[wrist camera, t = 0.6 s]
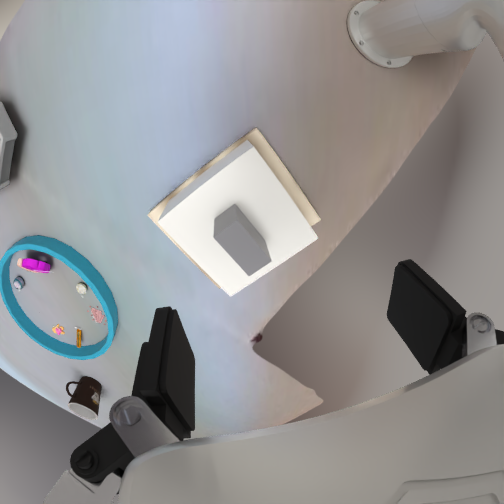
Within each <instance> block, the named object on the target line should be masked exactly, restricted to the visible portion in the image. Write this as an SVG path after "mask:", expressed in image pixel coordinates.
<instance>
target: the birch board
mask: <svg viewBox="0 0 504 504" xmlns="http://www.w3.org/2000/svg"><path fill="white" fill-rule="evenodd" d="M246 140H248V141H249V142H250V143H251V144H252V145H253V146H254V148H255V149H256V150H257V152H258V153H259V154H260V156H261V157H262V158H263V160H264V161H265V162H266V164H267V165H268V167H269V168H270V169H271V171H272V172H273V173H274V175H275V176H276V178H277V179H278V180H279V182H280V183H281V184H282V186H283V187H284V189H285V190H286V192H287V193H288V194H289V196H290V197H291V199H292V200H293V201H294V203H295V204H296V206H297V207H298V209H299V210H300V212H301V213H302V215H303V216H304V217H305V219H306V220H307V222H308V223H309V225H310V226H313V225H314V224H316V223H317V222H319V221H320V218H319V216H318V215H317V213H316V212H315V210H314V209H313V207H312V206H311V204H310V203H309V201H308V200H307V198H306V197H305V195H304V194H303V192H302V191H301V189H300V188H299V186H298V185H297V183H296V182H295V180H294V179H293V177H292V176H291V174H290V173H289V172H288V170H287V169H286V167H285V166H284V164H283V163H282V162H281V160H280V159H279V157H278V156H277V155H276V153H275V152H274V150H273V149H272V148H271V146H270V145H269V144H268V142H267V141H266V140H265V138H264V137H263V135H262V134H261V133H260V131H259V130H258V129H257V128H254V129H253V130H251V131H250V132H248V133H247V134H246V135H244V136H243V137H241V138H240V139H239V140H237V141H236V142H234V143H233V144H232V145H230V146H229V147H228V148H226V149H225V150H224V151H222V152H221V153H220V154H218V155H217V156H216V157H214V158H213V159H212V160H211V161H209V162H208V163H207V164H205V165H204V166H203V167H202V168H200V169H199V170H198V171H197V172H195V173H194V174H193V175H192V176H190V177H189V178H188V179H187V180H185V181H184V182H183V183H182V184H181V185H179V186H178V187H177V188H176V189H175V190H173V191H172V192H171V193H170V194H169V195H168V196H166V197H165V198H164V199H163V200H162V201H161V202H160V203H158V204H157V205H156V206H155V207H154V208H153V209H152V210H151V211H150V212H149V214H148V216H149V217H150V218H151V219H152V220H153V222H154V223H155V224H156V225H157V226H158V227H159V228H160V229H161V230H162V231H163V232H164V233H165V234H166V235H167V236H168V237H169V238H170V239H171V241H172V242H173V243H174V244H175V245H176V246H177V247H178V248H179V249H180V250H181V251H182V252H183V253H184V254H185V255H186V256H187V257H188V258H189V259H190V260H191V261H192V262H193V263H194V264H195V265H196V266H197V267H198V268H199V269H200V270H201V271H202V272H203V273H204V274H205V275H206V276H207V277H208V278H209V279H210V280H211V281H212V282H213V283H214V284H215V285H216V286H217V287H218V288H219V289H220V288H221V287H220V286H219V285H218V284H217V283H216V282H215V281H214V280H213V279H212V278H211V277H210V276H209V275H208V274H207V273H206V272H205V271H204V270H203V269H202V268H201V267H200V266H199V265H198V264H197V263H196V262H195V261H194V260H193V259H192V258H191V257H190V256H189V255H188V254H187V253H186V252H185V251H184V250H183V249H182V248H181V247H180V245H179V244H178V243H177V242H176V241H175V240H174V239H173V238H172V237H171V236H170V235H169V234H168V233H167V232H166V231H165V230H164V229H163V228H162V227H161V226H160V224H159V223H158V220H159V218H160V216H161V214H162V212H163V211H164V209H165V207H166V205H167V203H168V201H169V200H170V199H172V198H173V197H174V196H175V195H176V194H178V193H179V192H180V191H181V190H182V189H184V188H185V187H186V186H187V185H188V184H190V183H191V182H192V181H193V180H195V179H196V178H197V177H198V176H200V175H201V174H202V173H203V172H205V171H206V170H207V169H209V168H210V167H211V166H212V165H214V164H215V163H216V162H218V161H219V160H220V159H222V158H223V157H224V156H226V155H227V154H228V153H230V152H231V151H232V150H234V149H235V148H236V147H238V146H239V145H240V144H242V143H243V142H245V141H246Z"/></svg>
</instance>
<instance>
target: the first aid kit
mask: <svg viewBox="0 0 504 504" xmlns="http://www.w3.org/2000/svg"><path fill="white" fill-rule="evenodd" d="M16 138H17V132H16V130H15V128H14V126H13V124H12V122H11V120H10V118H9V116H8V114H7V112H6V110H5V108H4V106H3V103H2V102H0V189H2V188H4V187H5V186H7V185H9V183H10V180H9V174H10V167H11V160H12V154H13V148H14V143H15V139H16Z"/></svg>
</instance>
